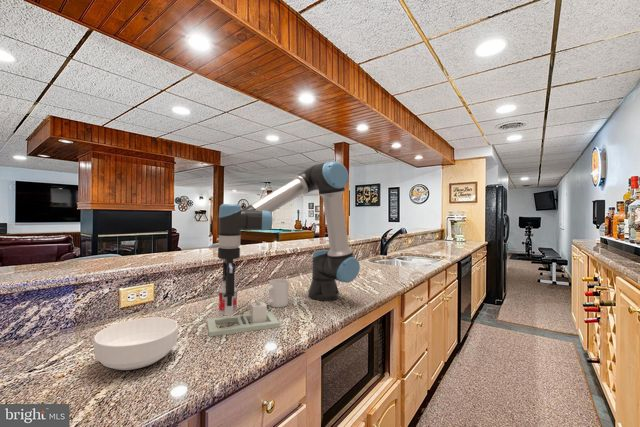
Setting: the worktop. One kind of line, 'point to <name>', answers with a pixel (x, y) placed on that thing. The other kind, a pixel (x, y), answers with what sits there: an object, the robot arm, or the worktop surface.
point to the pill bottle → (222, 298)
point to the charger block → (258, 312)
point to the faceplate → (242, 323)
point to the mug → (278, 292)
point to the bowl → (135, 342)
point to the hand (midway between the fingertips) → (227, 311)
